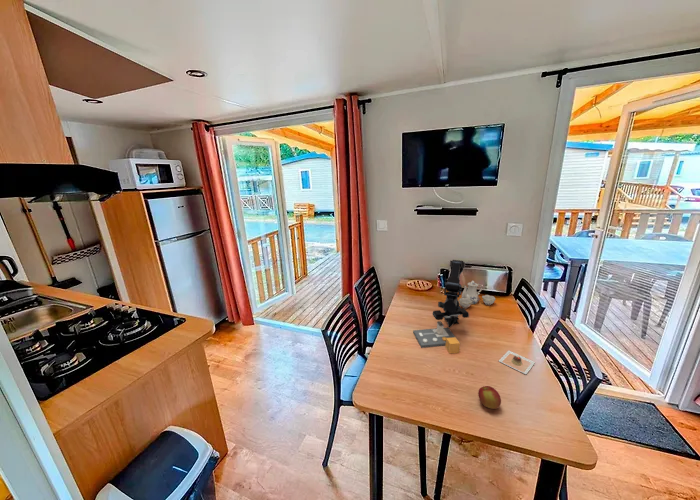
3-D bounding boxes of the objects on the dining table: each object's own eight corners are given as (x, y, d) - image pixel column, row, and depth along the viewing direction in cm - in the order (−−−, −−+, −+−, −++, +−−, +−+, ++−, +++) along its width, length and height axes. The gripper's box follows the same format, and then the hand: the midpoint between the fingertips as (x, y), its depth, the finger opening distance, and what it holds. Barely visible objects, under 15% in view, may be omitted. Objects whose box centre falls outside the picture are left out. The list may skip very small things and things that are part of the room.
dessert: (525, 376, 121) (527, 367, 120) (498, 362, 130) (499, 354, 129) (535, 364, 129) (536, 355, 127) (508, 352, 137) (509, 344, 136)
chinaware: (463, 314, 176) (467, 292, 169) (448, 300, 190) (451, 280, 184) (498, 307, 182) (503, 286, 176) (481, 295, 197) (485, 275, 191)
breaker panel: (447, 329, 157) (448, 325, 156) (459, 344, 144) (459, 340, 143) (413, 332, 155) (413, 328, 155) (421, 347, 142) (421, 343, 141)
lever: (440, 329, 154) (441, 321, 152) (443, 334, 150) (444, 325, 148) (435, 330, 153) (436, 321, 152) (438, 334, 149) (439, 325, 148)
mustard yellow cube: (454, 346, 142) (455, 337, 140) (458, 353, 137) (459, 343, 135) (445, 347, 142) (446, 338, 140) (449, 353, 137) (450, 344, 135)
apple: (492, 396, 111) (494, 380, 108) (503, 413, 103) (506, 397, 101) (474, 397, 111) (476, 381, 108) (484, 414, 103) (486, 398, 101)
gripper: (460, 294, 155) (458, 318, 160) (429, 297, 154) (428, 320, 158) (470, 303, 144) (467, 328, 149) (437, 306, 143) (435, 331, 147)
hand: (449, 327), depth 151 cm, fingers closed
